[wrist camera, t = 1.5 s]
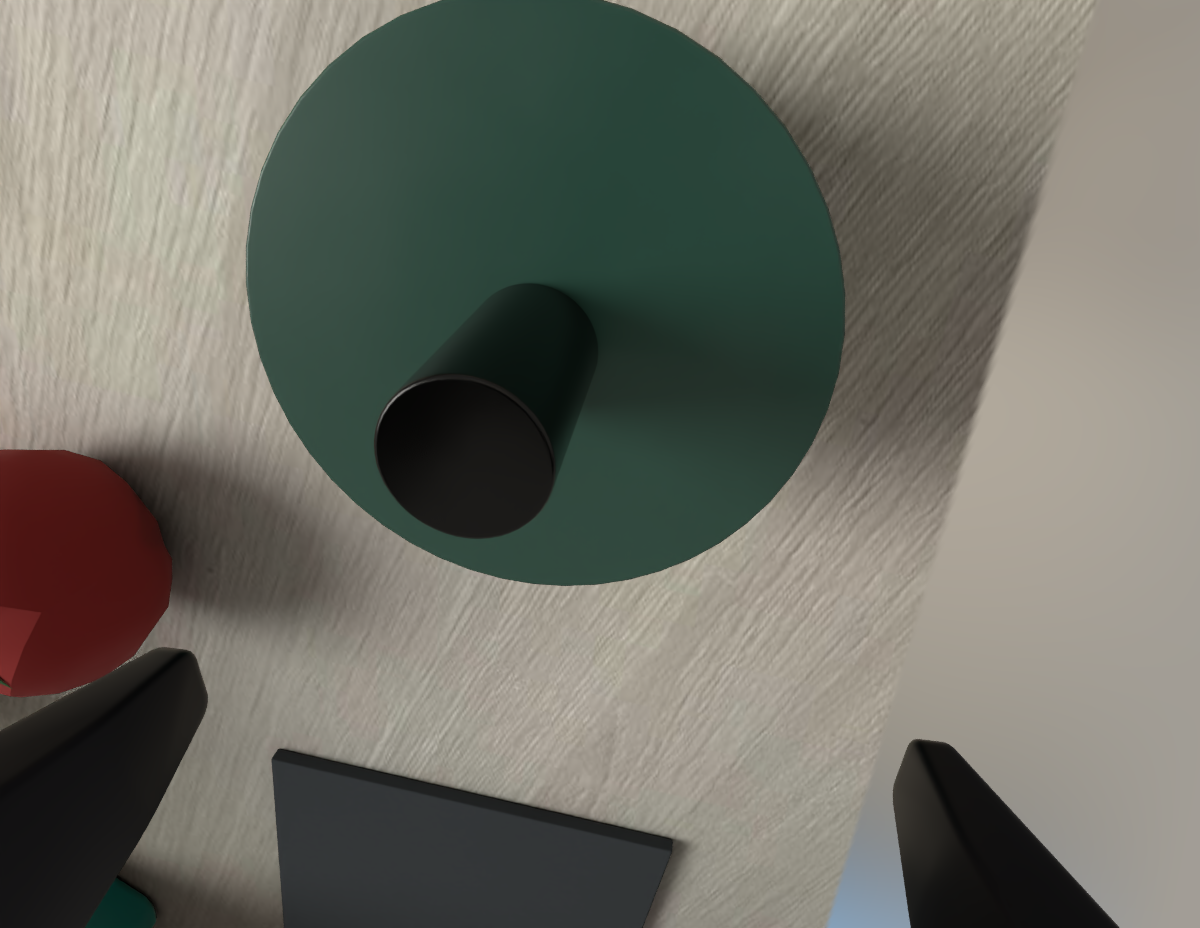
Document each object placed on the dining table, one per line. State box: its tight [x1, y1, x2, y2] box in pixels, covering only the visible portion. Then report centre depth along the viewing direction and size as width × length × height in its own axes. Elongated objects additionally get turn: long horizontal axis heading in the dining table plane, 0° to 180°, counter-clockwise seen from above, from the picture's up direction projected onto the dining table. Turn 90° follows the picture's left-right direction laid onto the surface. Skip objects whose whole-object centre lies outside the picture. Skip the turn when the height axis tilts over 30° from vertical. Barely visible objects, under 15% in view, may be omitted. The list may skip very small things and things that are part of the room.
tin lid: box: [246, 0, 845, 586], centre depth 11 cm, size 11×11×6 cm
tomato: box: [0, 450, 172, 697], centre depth 23 cm, size 8×8×7 cm
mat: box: [272, 749, 673, 928], centre depth 35 cm, size 18×16×1 cm
